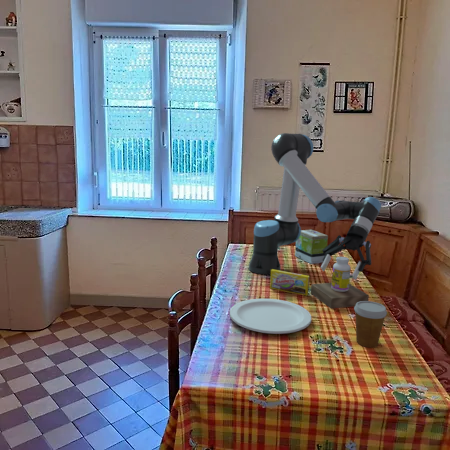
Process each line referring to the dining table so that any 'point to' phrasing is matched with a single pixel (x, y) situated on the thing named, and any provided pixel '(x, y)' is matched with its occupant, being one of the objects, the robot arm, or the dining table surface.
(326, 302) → the walnut stand
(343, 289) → the supplement bottle
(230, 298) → the dining table surface
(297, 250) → the tea box
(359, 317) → the disposable coffee cup
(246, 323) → the plate
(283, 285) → the candy box
